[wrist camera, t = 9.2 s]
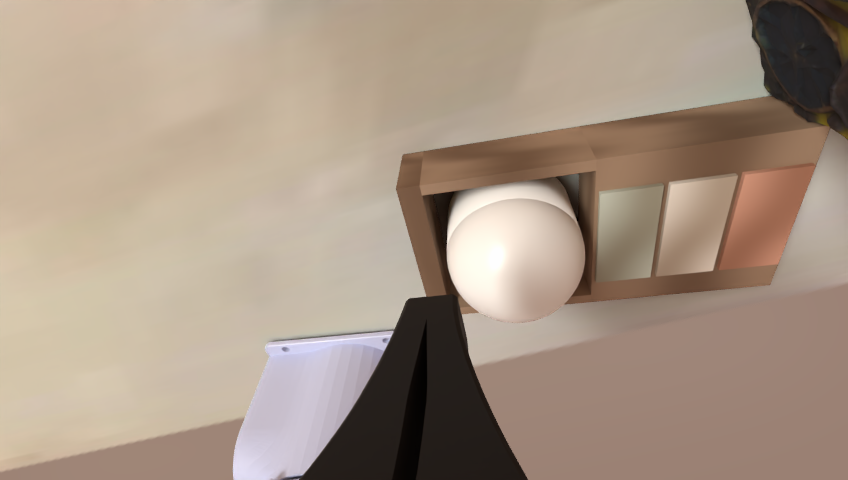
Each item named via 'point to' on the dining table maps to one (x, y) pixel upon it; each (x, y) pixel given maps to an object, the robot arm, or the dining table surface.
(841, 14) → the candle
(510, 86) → the dining table surface
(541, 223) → the dome button
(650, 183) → the brown shallow box
